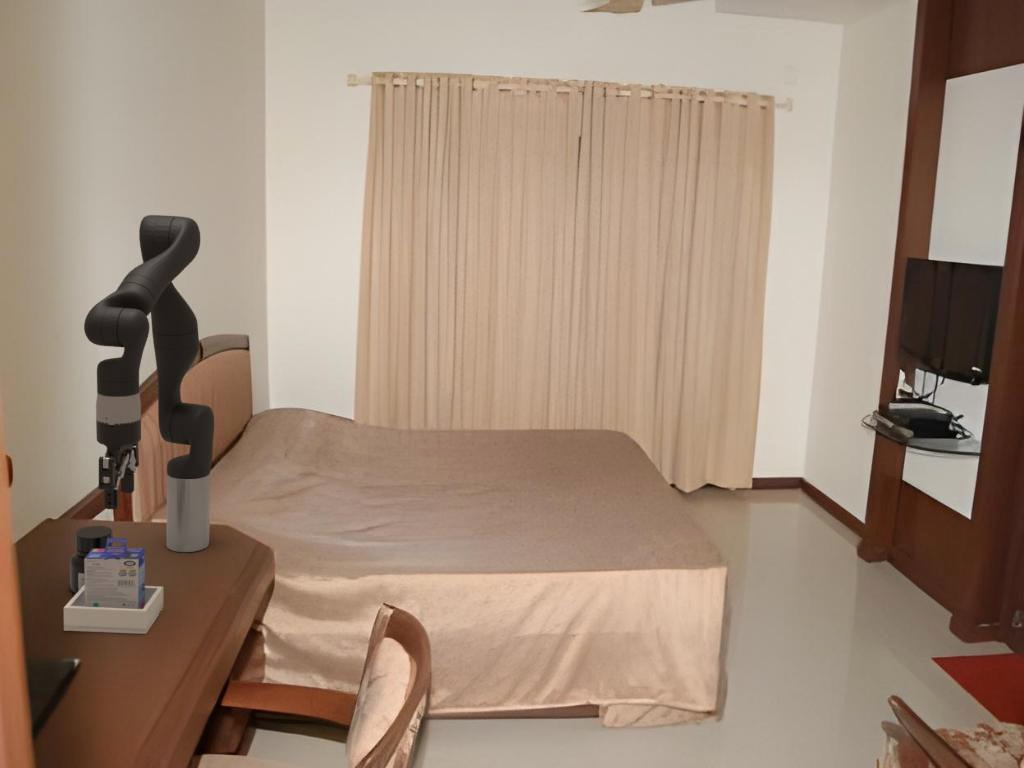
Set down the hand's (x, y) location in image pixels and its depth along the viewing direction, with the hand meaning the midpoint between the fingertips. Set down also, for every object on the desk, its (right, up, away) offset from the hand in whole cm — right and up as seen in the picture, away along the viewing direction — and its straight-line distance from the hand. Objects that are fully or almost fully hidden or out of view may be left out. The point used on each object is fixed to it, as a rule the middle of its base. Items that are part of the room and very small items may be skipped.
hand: (119, 500), depth 170 cm
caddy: (-2, -23, +3) cm, 23 cm away
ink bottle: (-12, -20, +15) cm, 28 cm away
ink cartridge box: (-2, -22, +3) cm, 22 cm away
